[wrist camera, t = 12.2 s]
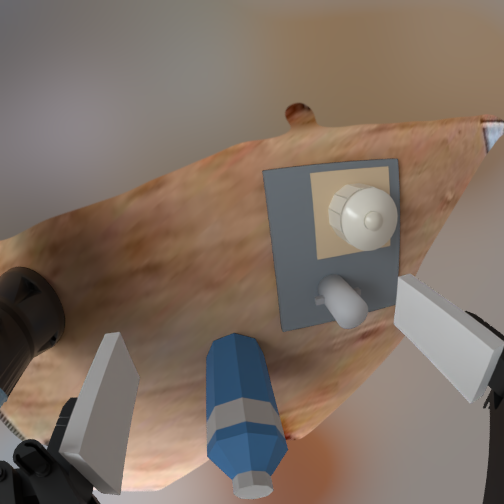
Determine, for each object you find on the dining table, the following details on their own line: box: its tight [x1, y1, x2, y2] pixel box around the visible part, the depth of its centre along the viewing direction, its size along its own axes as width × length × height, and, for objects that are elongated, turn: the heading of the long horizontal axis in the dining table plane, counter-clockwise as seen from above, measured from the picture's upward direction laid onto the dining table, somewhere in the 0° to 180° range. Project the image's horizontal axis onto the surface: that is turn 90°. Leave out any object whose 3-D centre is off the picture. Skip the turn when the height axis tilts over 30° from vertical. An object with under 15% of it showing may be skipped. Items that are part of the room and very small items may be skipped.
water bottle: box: [206, 333, 288, 499], centre depth 35 cm, size 9×9×25 cm
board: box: [262, 159, 400, 332], centre depth 38 cm, size 20×24×9 cm
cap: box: [328, 183, 398, 251], centre depth 37 cm, size 8×8×6 cm
